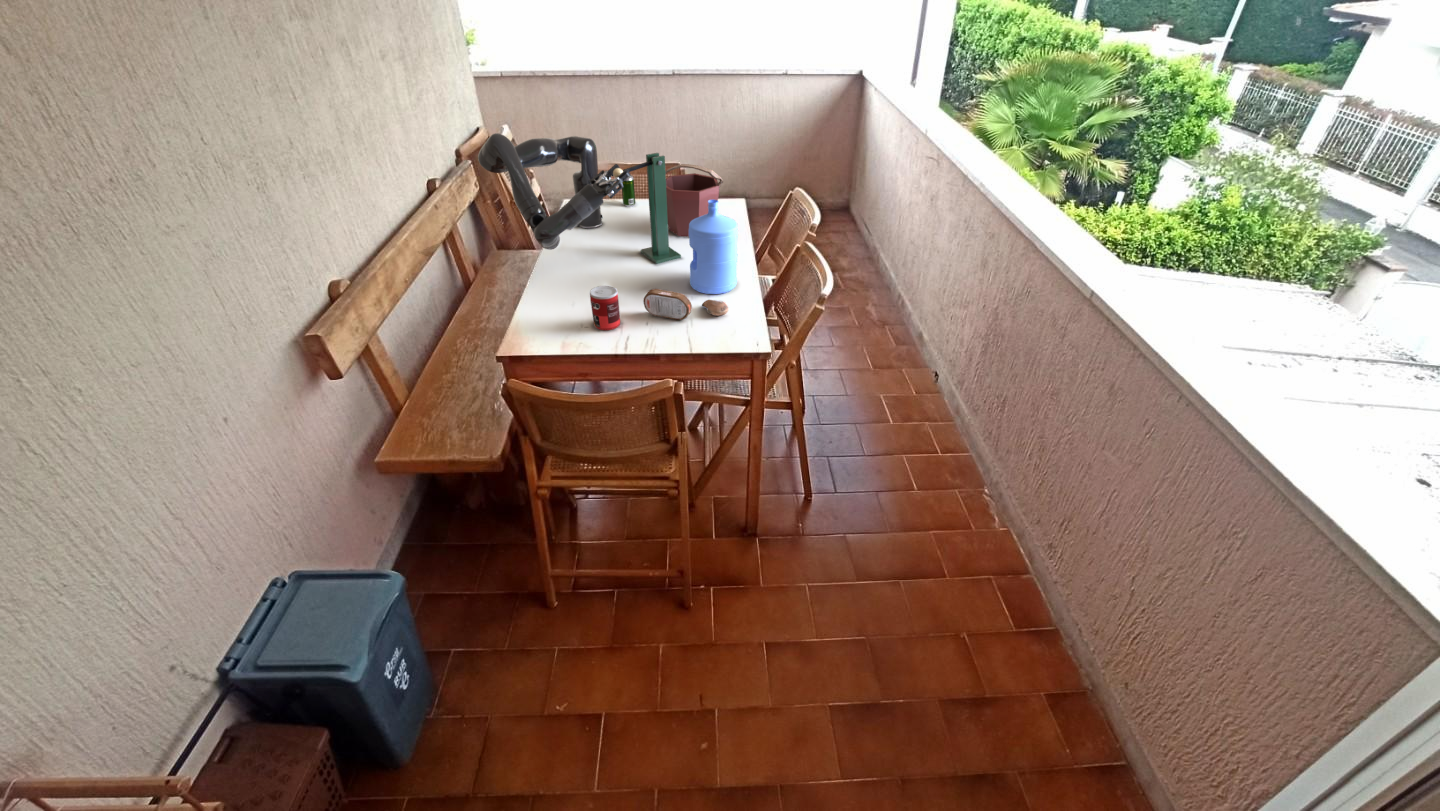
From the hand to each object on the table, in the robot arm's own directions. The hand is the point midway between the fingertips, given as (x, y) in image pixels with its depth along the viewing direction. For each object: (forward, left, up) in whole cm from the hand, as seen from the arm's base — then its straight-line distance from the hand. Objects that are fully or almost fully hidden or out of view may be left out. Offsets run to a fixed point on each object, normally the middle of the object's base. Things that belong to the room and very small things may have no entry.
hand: (623, 169), depth 208 cm
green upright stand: (+9, +8, -33) cm, 35 cm away
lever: (+4, +3, -2) cm, 5 cm away
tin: (+20, -37, -33) cm, 54 cm away
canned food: (+3, -44, -33) cm, 55 cm away
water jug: (+31, -13, -33) cm, 47 cm away
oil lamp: (+34, -32, -33) cm, 57 cm away
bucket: (+16, +34, -33) cm, 50 cm away
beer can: (-15, +60, -33) cm, 70 cm away
